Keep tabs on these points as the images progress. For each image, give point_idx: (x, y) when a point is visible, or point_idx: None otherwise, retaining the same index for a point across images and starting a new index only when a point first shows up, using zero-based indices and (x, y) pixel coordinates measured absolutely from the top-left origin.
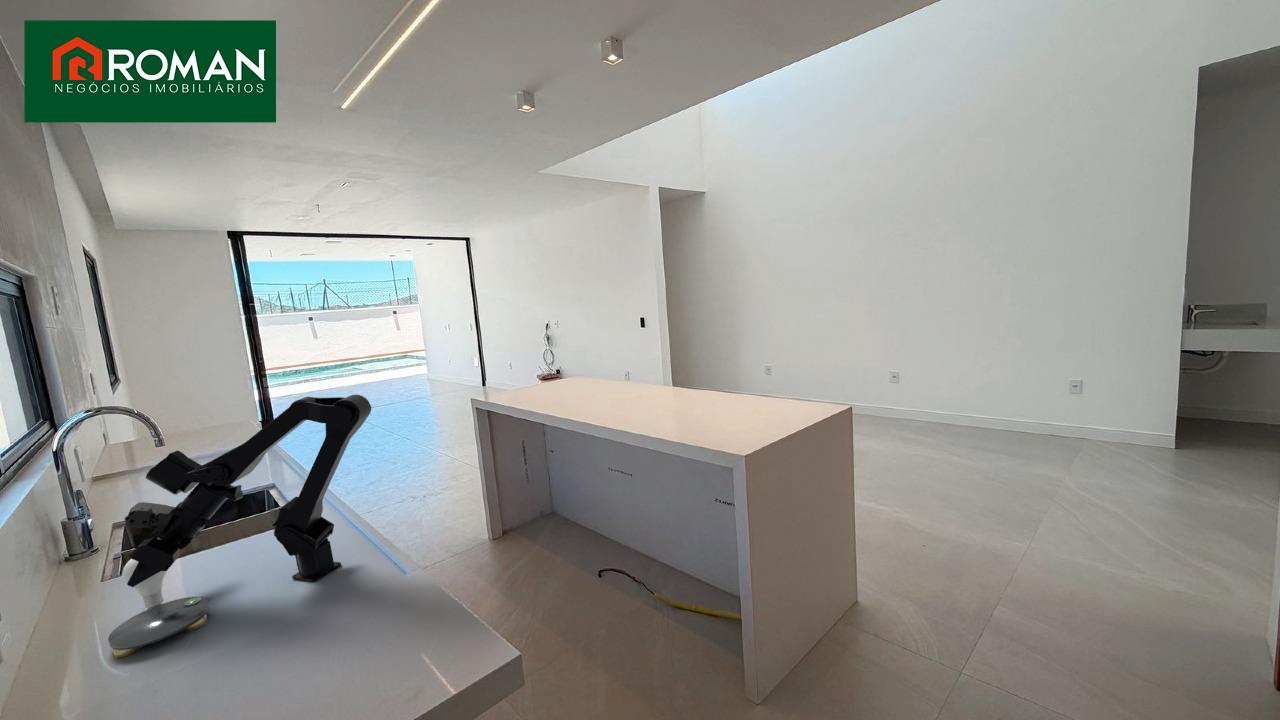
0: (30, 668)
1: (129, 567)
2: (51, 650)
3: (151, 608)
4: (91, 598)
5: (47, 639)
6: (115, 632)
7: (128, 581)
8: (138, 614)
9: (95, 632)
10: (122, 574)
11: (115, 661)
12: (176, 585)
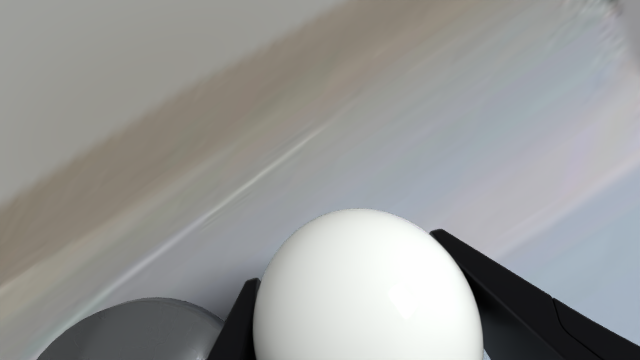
0: (135, 129)
1: (265, 307)
2: (204, 118)
3: None
4: (472, 14)
5: (268, 64)
6: (105, 323)
7: (238, 297)
8: (205, 325)
9: (253, 176)
10: (297, 230)
11: None
12: (480, 248)
